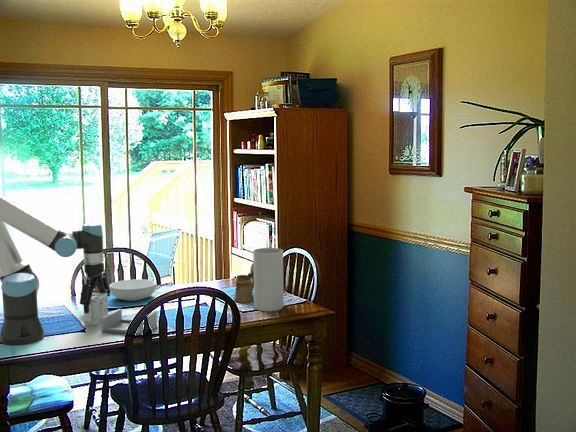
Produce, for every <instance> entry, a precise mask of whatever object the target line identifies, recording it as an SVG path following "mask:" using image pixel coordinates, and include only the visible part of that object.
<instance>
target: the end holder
mask: <svg viewBox="0 0 576 432" xmlns="http://www.w3.org/2000/svg"><path fill="white" fill-rule="evenodd" d="M122 311H123V310H122V308H118V309H115V310H114V311H112V312H110V313H108V315H106V316H104V317H102V318H101V334H112V335H122V336H123V335H124V336H126V335H125V333H126V331H127V327H128V326H129V324H130V322H131V321H132V320H133V319H129V318H127V319H125V318H123V317H122V316H123V315H122V313H123V312H122ZM148 314H149V315H148ZM148 314H147V315H148V322H149V325H150V327H151V328H153V327H154V326H156V325H157V326H158V317H157V314H158V313H157V311H151V312H150V313H148ZM143 325H144V322H143V321H142V323H141V325H140V326H139V328H138V330H137V333H136V335H142V333H143ZM157 326H156V327H157ZM153 329H154V328H153ZM142 336H143V335H142Z"/></svg>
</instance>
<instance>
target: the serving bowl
mask: <svg viewBox="0 0 576 432" xmlns="http://www.w3.org/2000/svg"><path fill="white" fill-rule="evenodd" d="M109 288H110V294H111V295H112V296H113V297H115V298H116V299H118V300H122V301H127V302H134V301H135V302H136V301H141V300H143V299H145V298H148V297H150V296H152V295H153V294H154V293H155V291H156V288H157V282H156V281H155V280H151V279H141V278H139V279H124V280H118V281H114V282H112V283H110V284H109Z"/></svg>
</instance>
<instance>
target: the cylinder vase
mask: <svg viewBox="0 0 576 432" xmlns="http://www.w3.org/2000/svg"><path fill="white" fill-rule="evenodd" d="M252 257H253V263H254V288H253V296H254V301H253V306H254V309H255V310H257V311H259V312H264V313H265V312H268V313H269V312H278V311H281V310H282V309H283V308H284V250H283V249H281V248H278V247H277V248H275V247H262V248H255V249H254V250H253V255H252Z"/></svg>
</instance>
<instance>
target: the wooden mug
mask: <svg viewBox="0 0 576 432" xmlns="http://www.w3.org/2000/svg"><path fill="white" fill-rule="evenodd" d="M249 270H250V272H249V273H247V274H239V275H237V276H236V279H235V291H234V297H233V302H235V303H237V304H238V303H239V304H248V303H252V302H253V303H254V262H252V264H251V266H250V269H249Z"/></svg>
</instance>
